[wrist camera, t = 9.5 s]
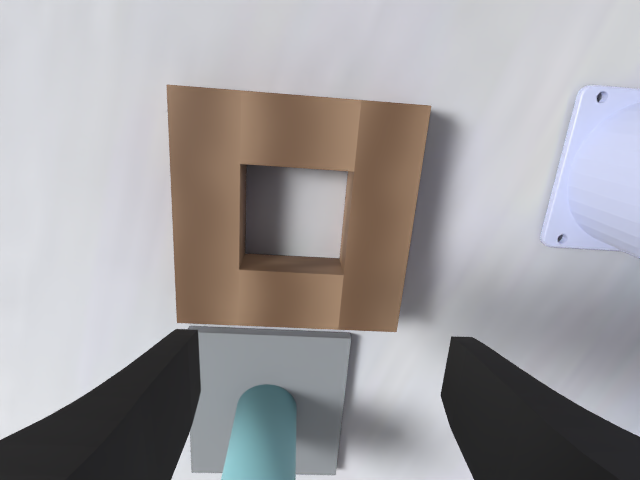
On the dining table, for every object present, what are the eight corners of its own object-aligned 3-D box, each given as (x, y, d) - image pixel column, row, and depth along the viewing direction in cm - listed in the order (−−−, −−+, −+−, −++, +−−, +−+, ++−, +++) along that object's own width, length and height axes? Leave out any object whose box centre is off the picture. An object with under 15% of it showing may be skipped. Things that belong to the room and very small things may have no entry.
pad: (349, 333, 23) (351, 338, 22) (334, 467, 26) (335, 475, 26) (189, 326, 22) (186, 331, 22) (194, 464, 26) (191, 472, 25)
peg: (292, 381, 23) (288, 515, 16) (299, 429, 24) (298, 576, 17) (232, 387, 23) (198, 526, 16) (241, 435, 24) (214, 586, 17)
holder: (417, 105, 19) (431, 105, 17) (387, 310, 23) (396, 332, 21) (181, 86, 18) (166, 84, 16) (188, 302, 22) (177, 322, 20)
